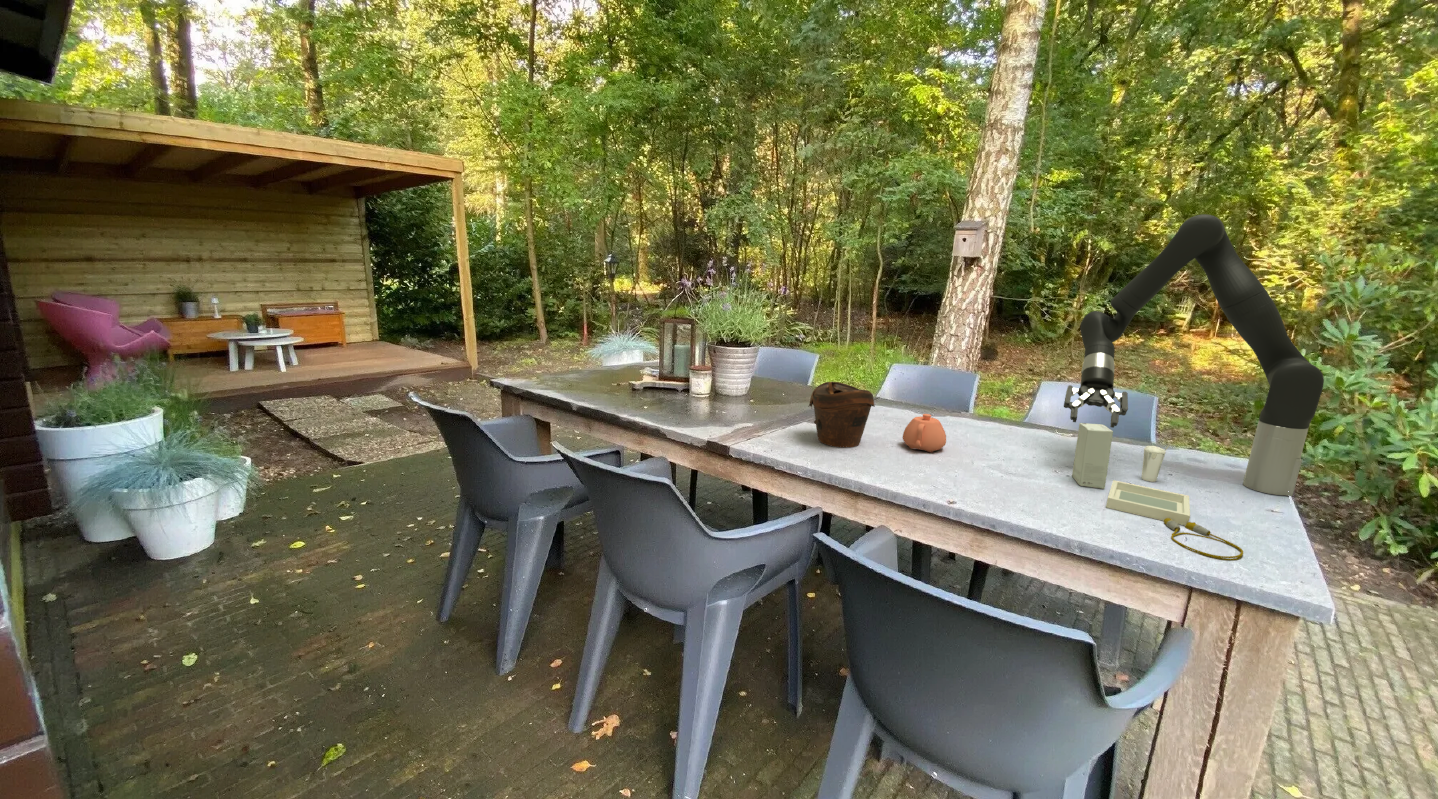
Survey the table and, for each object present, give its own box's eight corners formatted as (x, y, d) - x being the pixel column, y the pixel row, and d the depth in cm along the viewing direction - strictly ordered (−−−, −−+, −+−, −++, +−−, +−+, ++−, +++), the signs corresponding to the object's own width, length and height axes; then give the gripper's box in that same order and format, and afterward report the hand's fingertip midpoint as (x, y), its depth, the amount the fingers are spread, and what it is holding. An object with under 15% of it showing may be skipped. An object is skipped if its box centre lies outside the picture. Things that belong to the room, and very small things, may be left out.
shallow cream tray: (1186, 505, 140) (1189, 495, 140) (1187, 526, 129) (1190, 515, 128) (1111, 489, 149) (1113, 480, 148) (1105, 507, 137) (1107, 497, 137)
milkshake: (1166, 484, 154) (1174, 447, 152) (1143, 481, 155) (1150, 445, 153) (1157, 478, 159) (1165, 441, 156) (1135, 475, 160) (1142, 439, 157)
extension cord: (1233, 537, 125) (1235, 529, 124) (1248, 569, 112) (1251, 559, 111) (1162, 523, 131) (1163, 514, 131) (1168, 550, 118) (1170, 541, 118)
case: (821, 428, 194) (825, 374, 190) (880, 441, 183) (886, 383, 178) (794, 441, 180) (798, 383, 175) (856, 456, 169) (862, 394, 164)
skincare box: (1104, 489, 149) (1116, 432, 145) (1077, 486, 150) (1088, 429, 147) (1095, 478, 156) (1105, 423, 153) (1069, 475, 158) (1079, 421, 155)
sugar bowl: (949, 446, 180) (953, 413, 177) (938, 458, 168) (942, 423, 166) (908, 439, 186) (911, 407, 184) (894, 450, 174) (898, 416, 172)
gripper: (1070, 362, 163) (1064, 411, 156) (1132, 368, 157) (1129, 420, 150) (1065, 378, 169) (1060, 426, 162) (1125, 384, 163) (1122, 435, 156)
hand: (1093, 423), depth 156 cm, fingers open, 8 cm apart
